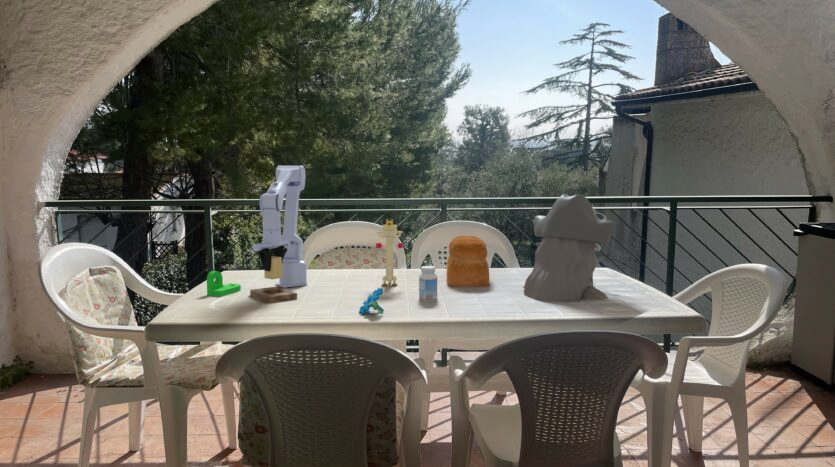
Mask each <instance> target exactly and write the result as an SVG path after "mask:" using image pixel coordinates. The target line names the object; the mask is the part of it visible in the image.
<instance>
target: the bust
mask: <svg viewBox="0 0 835 467" xmlns="http://www.w3.org/2000/svg"><path fill="white" fill-rule="evenodd" d="M596 209H597V207H595V208H593V207H592V204H591V202H590V201H589V199H588V198H587V197H586V196H585V195H583V194H579V193H578V194H574V195H571V196H570V195H569V194H567V193H564V194H562V195H560V196H559V197H558V198H557V199H556V200H555V201H554V202H553V204H552V206H551V208H550V209H549V211H548V213H547V214H546V215H535V216H534V219H533V230H534V231H533V232H534V236H535V237H542V239H541V242H540V244H539V245H538V246H537V248H536V249H535V252H534V257H535V258H534V259H535V261H534V265H533V269H532V271H531V272H530V274H529V275H528V276H527V278H526V279H525V283H524V285H523V286H522V288H523V293H524V294H523V295H525V296H527V297H530V299H533V300H534V301H541V302H561V303H569V302H570V303H571V302H572V303H573V302H580V300H589V301H602V300H607V299H609V297H608V296H607V295H606V294H605V293H604V292H603V291H601V290H600V289H599V288H596V287H595V285H594V278H593V277H594V272H595V270H596V264H597V260H596V253H595V251H596V252H600V251H601V249H602V248H601V245H599V243H600V244H601V243H602V244H609V243H610V241H611V238H612V233H613V232H614V229H615V226H616V225H615V224H616V223H615V222H614V221H613V220H609V219H607V216H606V215H604V214H603V213H600V212H598V211H597V212H596ZM596 214H598V215H602V216H603V219H600V218H599V217H598V216H597V215H596Z"/></svg>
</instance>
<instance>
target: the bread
mask: <svg viewBox="0 0 835 467" xmlns="http://www.w3.org/2000/svg"><path fill="white" fill-rule="evenodd" d="M448 253H449V256H448V258H447V262H446V282H447V283H446V284H448V286H449V287H453V286H455V287H456V288H457V287H458V288H460V287H461V288H462V287H471V288H472V287H486V286H487V287H488V286H489V285H490V266H489V264H488V261H487V257H488V249H487V244H486V243H485V241H484V240H483V239H481V238H479V237H478V236H474V235H461V236H460V235H459V236H456V237H454V238H453V239H452V240H451V241H450V242H449V243H448Z"/></svg>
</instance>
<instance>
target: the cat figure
mask: <svg viewBox="0 0 835 467" xmlns="http://www.w3.org/2000/svg"><path fill="white" fill-rule="evenodd" d="M382 223H383V224H382V226H381V228H382V229H381V230H376V233H377V234H378V237H379V238H381V239H383V238H385V245H383V244H382V242H376V243H375V248H377V249H382V248H383V247H385V274H384V275H383V276H382V281H383V282H382V283H381V286H382V287H387V286H388V284H391V286H392V287H396V286H398V283H397V275H396V274H394V247H397V249H403V248H404V243H402V242H398V244H397V245H394V239H398V238H400V237H401V236H402V234H403V231H402V230H398V225H397V222H396V221H395V220H394V219H391V220H389V219H385V220H384V221H383V222H382ZM387 282H388V283H387ZM392 282H393V283H392Z"/></svg>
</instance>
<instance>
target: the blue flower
mask: <svg viewBox="0 0 835 467" xmlns="http://www.w3.org/2000/svg"><path fill="white" fill-rule="evenodd" d="M382 287H383V286H382ZM382 287H378V288H377V289H376V290H373V292H372V294H369V295H368V296H367V300H364V301H363V303H362V304H363V305H361V306H360V307H359V311H358V313H359V314H365V313H366V312H369V311H370V308H371V309H373V310H374V311H377V312H378V313H380V314H381V315H383V314H384V311H385V309H383V308H382V307H381V306H380V305H379V304H378V302H377V301H379V300H380V298H381V297H380V296H382V295H383V293H384V288H382Z"/></svg>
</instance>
